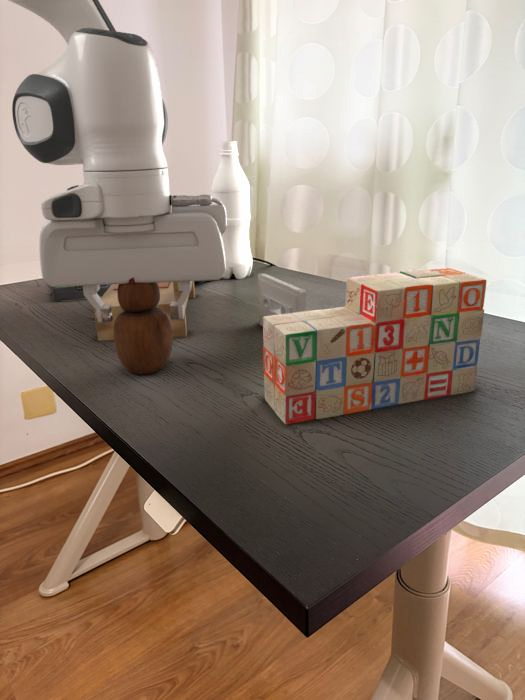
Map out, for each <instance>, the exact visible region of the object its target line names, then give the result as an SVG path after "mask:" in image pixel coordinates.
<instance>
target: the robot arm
mask: <svg viewBox="0 0 525 700" xmlns="http://www.w3.org/2000/svg"><path fill="white" fill-rule="evenodd" d="M8 1H9V2H11V3H13V4H15V5H18V6H20V7H22V8H24V9H26V10H28V11H29V12H31V13H33V14H35V15H37V16H38V17H40V18H41V19H43V20H44V21H46V22H47V23H48V24H50V26H52V27H53V28H54V29H55V30H56V31H57V32H58V33H59V34H60V35H61V36H62V38H63V40H64V41H65V44H66V45H67V48H66V50H65V51H64V53H62V55H61V56H60V57H59V58H58V59H57V60H56V61H54V62H53V63H52V64H51V65H49V66H48V67H46V68H44V69H43V70H41V71H39V72H38V73H32V74H29V75H27V76H26V77H25V78H24V79H23V81H21V82H20V84H19V86H18V87H17V89H16V91H15V93H14V96H13V98H12V106H11V112H12V121H13V126H14V130H15V133H16V136H17V138H18V140H19V142H20V143H21V145H22V146H23V148H24V149H25V150H26V151H27V152H28V154H30V156H32V157H33V158H34V159H35V160H37V162H38V161H39V162H40V163H41V164H49V165H53V166H75V165H82V172H83V183H82V184H81V185H79V184H77V185H72V186H70V187H68V188H67V189H66V190H64V191H61V192H59V193H55V194H53V195H51V196H49V197H47V198H45V199H43V200H42V201H41V205H40V210H41V214H42V216H43V218H44V219H46V220H47V222H46V223H45V224H44V225H43V226H42V227H41V230H40V232H39V239H38V240H39V243H38V244H39V246H38V247H39V248H38V249H39V264H40V271H41V276H42V279H43V280H44V282H46V283H47V285H48V286H49V287H51V288H52V287H60V286H83V293H84V296H85V297H86V298H87V299H86V300H87V301H88V302H89V304H90V305H91V306H92V308H93V310H94V309H96V314H97V321H98V323H105V322H112V320H113V313H112V312H111V311H112V304H104V303H103V301H102V300H101V297H99V295H98V294H97V292H98V290H99V289H100V286H99V285H109V284H127V283H129V280H130V279H131V278H134V281H135V283H158V282H178V290H179V291H183V292H182V294H181V296H180V298H179V300H178V301H175V302H171V303H170V312H171V315H170V316H171V320H175V319H184V303H185V301H186V299H187V297H188V295H189V293H190V291H191V287H192V283H191V281H194V282H203V281H207V282H208V281H219V280H221V279H223V278H222V276H223V275H224V274H225V272H226V260H225V252H224V245H223V240H222V234H223V233H224V232H225V230H226V227H227V216H226V209H225V207H224V205H223V204H222V203H221V202H220V201H219V200H217V199H214V198H213V196H212V194H211V195H210V194H199V195H182V194H181V195H171V190H170V189H171V188H170V177H169V166H168V165H169V164H168V160H167V158H166V155H165V152H164V148H163V146H164V143H165V141H166V139H167V135H168V130H169V116H168V112H167V111H168V110H167V106H166V104H165V102H164V99H163V95H162V86H161V80H160V75H159V74H160V73H159V70H158V65H157V62H156V61H157V60H156V58H155V53H154V52H153V49H152V47H151V45H150V43H149V42H148V41H147V40H146V39H145V38H143V37H142V36H140V35H138V34H136V33H128V32H122V31H117V30H116V28H115V27H114V25H113V23H112V21H111V20H110V18H109V16H108V14H107V13H106V10H105V9H104V7H103V6H102V4H101V2H100V0H8ZM213 202H215V203H217V204H218V205H213Z"/></svg>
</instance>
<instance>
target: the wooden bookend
mask: <svg viewBox="0 0 525 700" xmlns="http://www.w3.org/2000/svg"><path fill="white" fill-rule="evenodd" d="M191 283H192V287H191V291H190V293H189V295H188V297H187V299H186V301H185V303H184V319H175V320H171V316H170V315H171V312H170V303H171V302H175V301H178V300H179V298H180V296H181V294H182V292H183V291H179V290H178V282H158V283H157V284H158V286H159V291H160V301H159V303H158V305H157V306H156V307H159V308H161V309H162V310H163V311H164V312H165V313H166V314H167V316H168V318H169V321H170V325H171V329H172V336H173V338H186V337H187V335H188V328H187V317H186V315H187V314H186V309H187V304H188V301H189V299H195V298H196V292H195V291H196V290H195V281H191ZM118 285H119V284H112V285H111V286H110V287H109V289H108V290H107V291H106V292H105V294H104V295H103V296H102V297H100V298H101V300H102V301H103V303H104V304H112V311H111V312H112V313H113V320H112V322H105V323H98V321H97V314H96V309H94V308H93V312H94V319H95V327H96V334H97V341H98V342H100V341H101V342H103V341H114V333H113V329H114V323H115V320H116V318H117V316H118V315H119V314H120V313H122V312H123V311H125V310H123V309H122V308H121V306H120V304H119V301H118V294H117V290H118Z"/></svg>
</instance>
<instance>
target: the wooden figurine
mask: <svg viewBox="0 0 525 700" xmlns="http://www.w3.org/2000/svg"><path fill="white" fill-rule="evenodd" d="M117 294H118V301H119V304H120V306H121V308H122V309H123V310H125V311H123V312H122V313H120V314H119V315H118V316H117V318H116V320H115V323H114V329H113V333H114V340H113V342H114V347H115V351H116V355H117V358H118V359H119V362H120V364H121V365H122V367H123V368H124V369H125V370H126V371H127V372H128V373H130V374H131V375H135V376H136V375H137V376H138V375H139V376H143V375H150V374H154V373H156V372H159V371H160V370H162V369H163V368H164V367H165V366H166V365H167V364H168V362H169V360H170V356H171V352H172V349H173V342H174V337H173V336H172V329H171V325H170V321H169V318H168V316H167V314H166V313H165V312H164V311H163V310H162V309H161V308H159V307H156V306H157V305H158V303H159V301H160V291H159V286H158V284H157V283H135V281H134V278H131V279H130V280H129V283H127V284H119V285H118V290H117Z"/></svg>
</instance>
